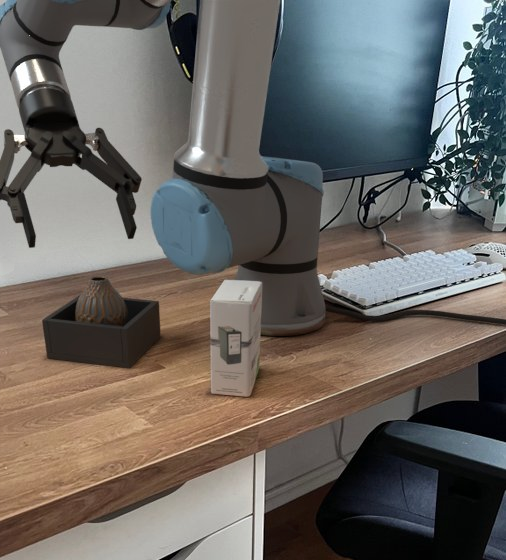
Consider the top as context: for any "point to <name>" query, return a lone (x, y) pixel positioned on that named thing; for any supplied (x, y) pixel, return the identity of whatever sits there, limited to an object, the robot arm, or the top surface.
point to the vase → (101, 304)
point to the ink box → (235, 337)
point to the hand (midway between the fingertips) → (84, 237)
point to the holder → (102, 335)
